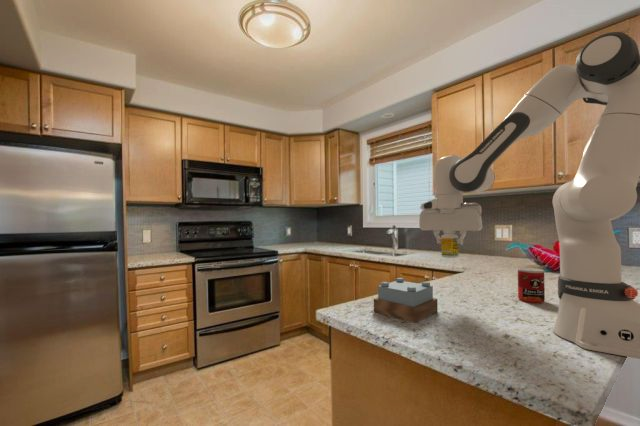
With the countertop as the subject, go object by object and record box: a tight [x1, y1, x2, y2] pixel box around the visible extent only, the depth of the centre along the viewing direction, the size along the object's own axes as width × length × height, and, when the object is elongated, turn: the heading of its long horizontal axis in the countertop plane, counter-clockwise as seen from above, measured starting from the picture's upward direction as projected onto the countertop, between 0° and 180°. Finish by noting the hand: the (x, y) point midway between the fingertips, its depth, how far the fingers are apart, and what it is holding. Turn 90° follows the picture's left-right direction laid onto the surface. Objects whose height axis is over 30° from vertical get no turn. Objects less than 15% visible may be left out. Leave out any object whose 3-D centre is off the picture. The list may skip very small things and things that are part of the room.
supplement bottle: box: [440, 229, 459, 259], centre depth 102 cm, size 5×5×10 cm
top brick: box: [377, 277, 434, 307], centre depth 93 cm, size 12×12×5 cm
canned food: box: [517, 267, 546, 304], centre depth 105 cm, size 8×8×11 cm
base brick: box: [373, 297, 439, 324], centre depth 93 cm, size 14×14×4 cm
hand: (449, 244), depth 102 cm, fingers closed on supplement bottle, 5 cm apart
